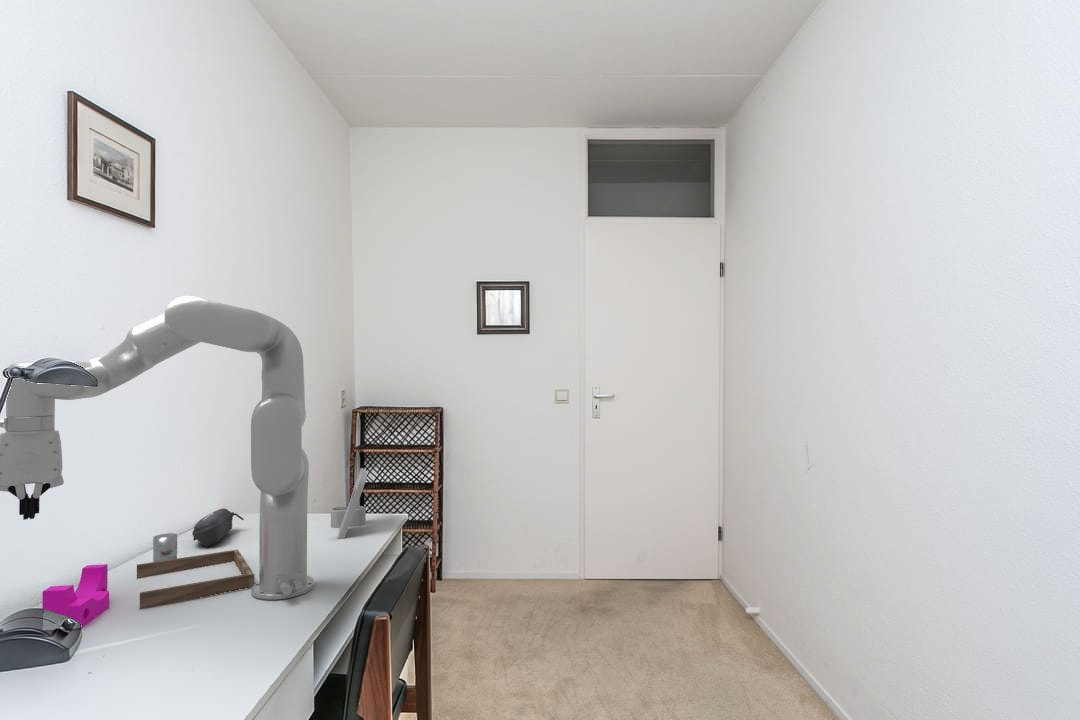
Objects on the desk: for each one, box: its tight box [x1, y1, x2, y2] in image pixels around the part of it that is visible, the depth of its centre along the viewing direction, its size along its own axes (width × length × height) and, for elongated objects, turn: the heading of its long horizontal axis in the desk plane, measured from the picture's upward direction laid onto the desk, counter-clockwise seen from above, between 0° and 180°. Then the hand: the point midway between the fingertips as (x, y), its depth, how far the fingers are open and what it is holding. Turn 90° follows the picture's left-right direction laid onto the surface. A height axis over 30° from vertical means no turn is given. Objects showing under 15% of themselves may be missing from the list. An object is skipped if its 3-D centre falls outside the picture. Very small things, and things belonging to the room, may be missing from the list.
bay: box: [136, 549, 255, 610], centre depth 140 cm, size 22×21×3 cm
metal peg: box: [152, 532, 178, 562], centre depth 153 cm, size 5×5×7 cm
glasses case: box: [191, 507, 245, 548], centre depth 173 cm, size 18×10×8 cm, turn 13°
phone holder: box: [330, 467, 368, 540], centre depth 180 cm, size 17×10×18 cm, turn 16°
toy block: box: [42, 563, 110, 628], centre depth 123 cm, size 15×6×8 cm, turn 9°
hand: (29, 517), depth 125 cm, fingers closed
